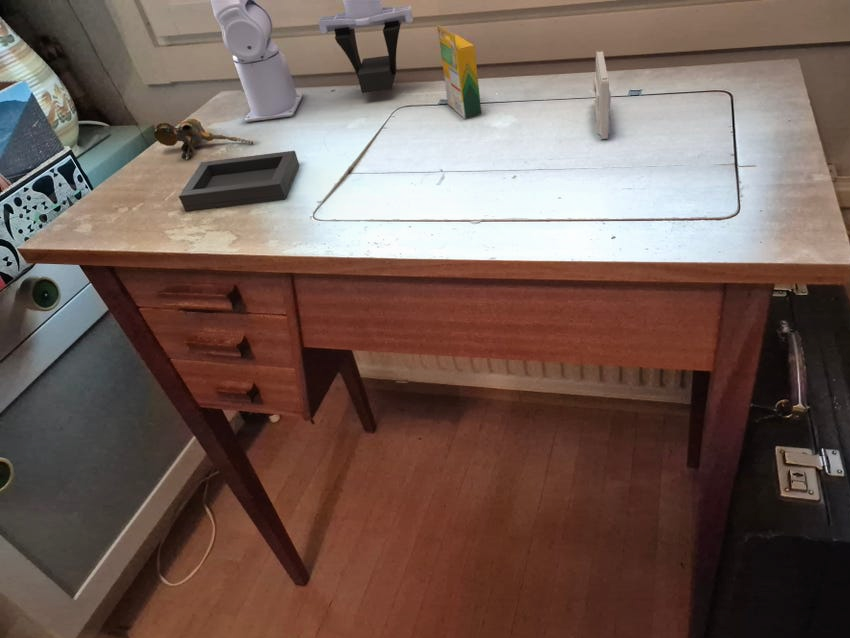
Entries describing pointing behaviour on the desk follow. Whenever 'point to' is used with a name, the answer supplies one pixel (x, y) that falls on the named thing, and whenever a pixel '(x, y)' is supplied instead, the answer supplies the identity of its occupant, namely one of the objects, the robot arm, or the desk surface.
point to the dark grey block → (375, 75)
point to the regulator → (187, 136)
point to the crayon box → (460, 74)
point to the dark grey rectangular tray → (240, 181)
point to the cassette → (602, 96)
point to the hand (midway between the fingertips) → (377, 74)
